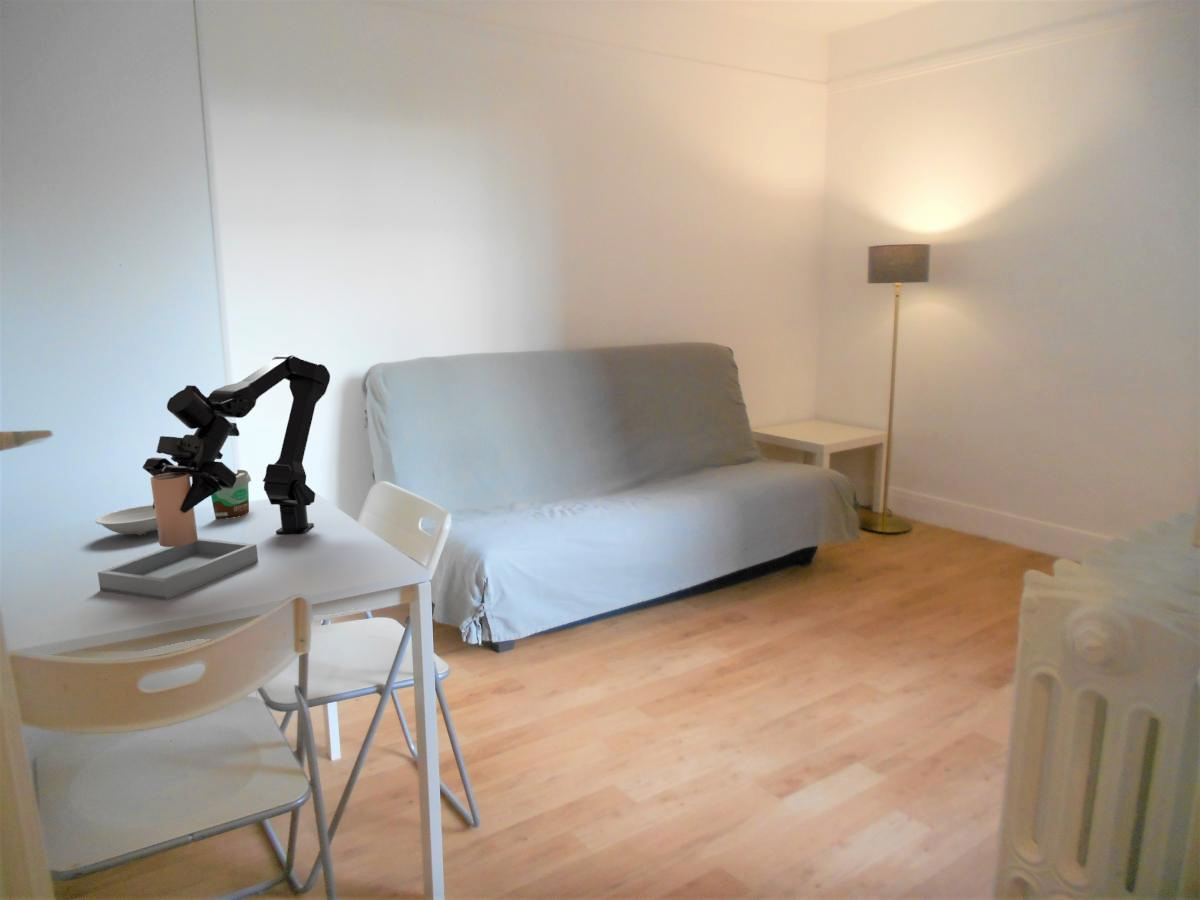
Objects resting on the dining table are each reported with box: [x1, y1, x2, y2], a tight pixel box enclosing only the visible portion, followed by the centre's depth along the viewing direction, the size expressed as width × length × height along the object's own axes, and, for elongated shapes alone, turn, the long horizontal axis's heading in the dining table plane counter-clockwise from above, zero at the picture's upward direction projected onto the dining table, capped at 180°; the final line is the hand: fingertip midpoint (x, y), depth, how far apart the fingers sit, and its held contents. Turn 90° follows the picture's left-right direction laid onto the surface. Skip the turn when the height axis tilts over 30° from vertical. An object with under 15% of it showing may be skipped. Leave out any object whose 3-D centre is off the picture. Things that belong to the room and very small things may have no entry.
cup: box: [150, 472, 199, 548], centre depth 160 cm, size 7×7×13 cm
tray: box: [97, 537, 259, 601], centre depth 162 cm, size 22×16×4 cm
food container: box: [210, 469, 252, 520], centre depth 205 cm, size 12×6×10 cm, turn 168°
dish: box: [95, 504, 158, 536], centre depth 191 cm, size 18×14×5 cm
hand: (168, 510), depth 159 cm, fingers closed on cup, 7 cm apart
